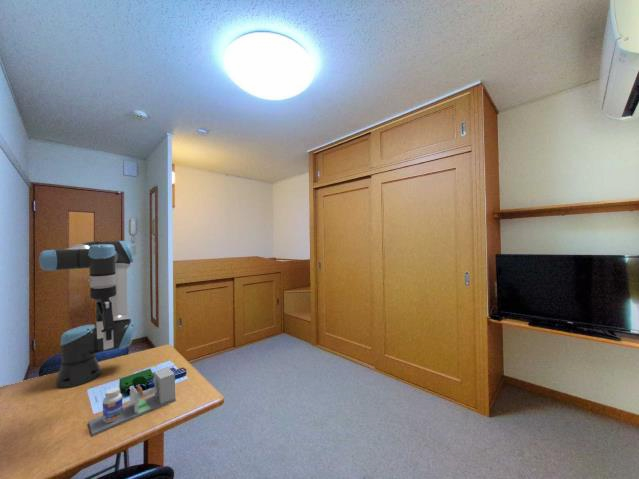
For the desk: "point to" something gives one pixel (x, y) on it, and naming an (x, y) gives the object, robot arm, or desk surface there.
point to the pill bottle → (112, 405)
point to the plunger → (139, 395)
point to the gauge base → (142, 402)
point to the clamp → (135, 379)
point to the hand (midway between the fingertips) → (105, 342)
